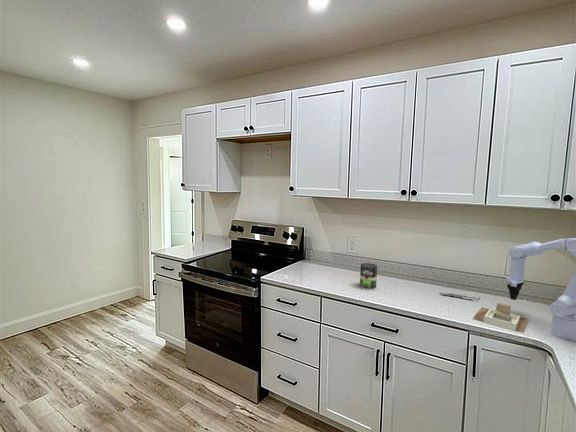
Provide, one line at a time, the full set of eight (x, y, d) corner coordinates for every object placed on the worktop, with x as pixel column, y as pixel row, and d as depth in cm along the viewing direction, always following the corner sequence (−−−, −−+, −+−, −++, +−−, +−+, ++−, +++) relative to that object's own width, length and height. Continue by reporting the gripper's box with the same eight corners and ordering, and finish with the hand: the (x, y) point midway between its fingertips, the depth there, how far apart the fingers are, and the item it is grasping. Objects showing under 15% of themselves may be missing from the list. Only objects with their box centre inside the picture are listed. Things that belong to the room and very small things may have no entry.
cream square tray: (489, 314, 154) (490, 308, 153) (519, 322, 146) (520, 316, 145) (484, 322, 145) (484, 316, 145) (515, 330, 137) (516, 324, 137)
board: (529, 320, 149) (529, 318, 149) (523, 334, 135) (524, 333, 135) (481, 308, 163) (481, 306, 163) (471, 320, 149) (472, 318, 148)
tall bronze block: (496, 318, 148) (497, 302, 147) (509, 321, 144) (510, 305, 143) (495, 319, 146) (497, 303, 145) (508, 323, 143) (509, 306, 142)
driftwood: (438, 296, 182) (439, 292, 181) (440, 292, 187) (440, 289, 187) (480, 304, 171) (480, 300, 171) (480, 300, 177) (480, 296, 177)
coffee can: (374, 291, 187) (375, 268, 185) (357, 288, 192) (358, 266, 190) (378, 286, 196) (379, 264, 194) (361, 283, 201) (362, 262, 199)
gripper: (509, 265, 159) (506, 291, 160) (504, 271, 148) (502, 299, 150) (526, 268, 154) (523, 295, 155) (523, 274, 143) (520, 303, 145)
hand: (514, 297), depth 152 cm, fingers open, 7 cm apart
